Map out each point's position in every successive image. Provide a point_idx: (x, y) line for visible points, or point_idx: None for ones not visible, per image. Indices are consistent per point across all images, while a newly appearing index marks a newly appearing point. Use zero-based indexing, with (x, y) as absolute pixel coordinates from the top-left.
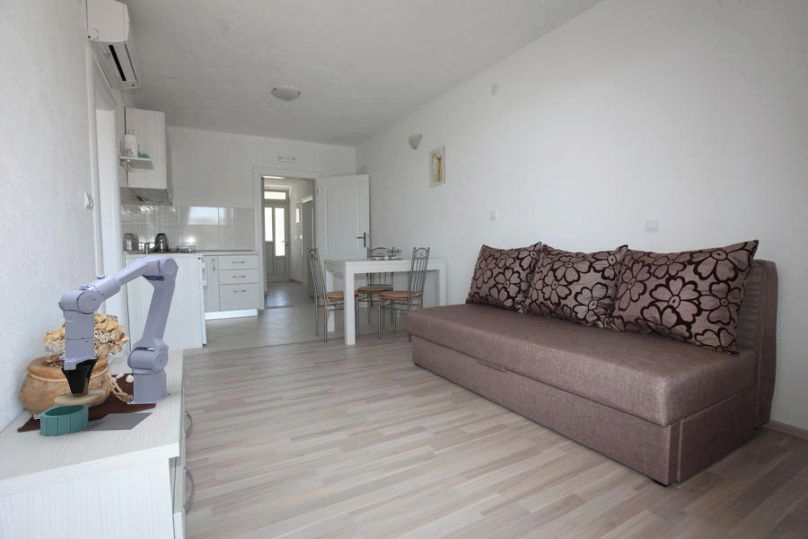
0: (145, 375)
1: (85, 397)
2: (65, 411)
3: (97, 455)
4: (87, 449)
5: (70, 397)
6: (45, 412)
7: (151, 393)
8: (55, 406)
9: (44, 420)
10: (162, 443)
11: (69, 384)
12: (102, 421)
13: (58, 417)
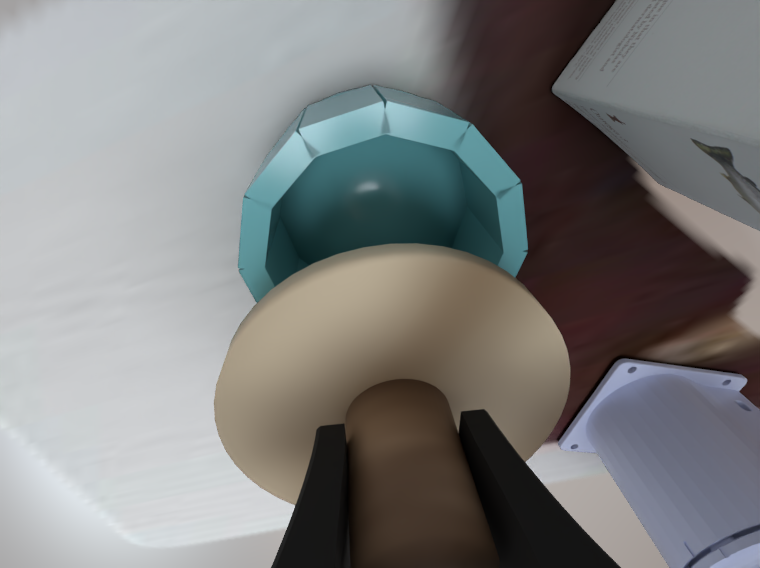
0: (681, 561)
1: (300, 468)
2: (485, 205)
3: (44, 422)
4: (102, 376)
5: (340, 381)
6: (377, 136)
7: (608, 468)
8: (612, 105)
9: (261, 169)
10: (145, 534)
11: (286, 530)
12: None
13: (241, 272)
